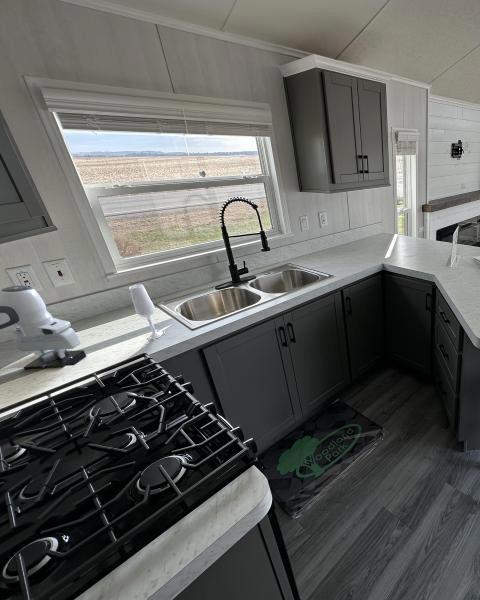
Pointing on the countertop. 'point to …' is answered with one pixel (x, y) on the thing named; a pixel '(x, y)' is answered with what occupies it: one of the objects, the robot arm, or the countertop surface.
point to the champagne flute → (143, 306)
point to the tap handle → (51, 355)
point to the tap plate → (57, 361)
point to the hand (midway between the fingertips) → (57, 357)
